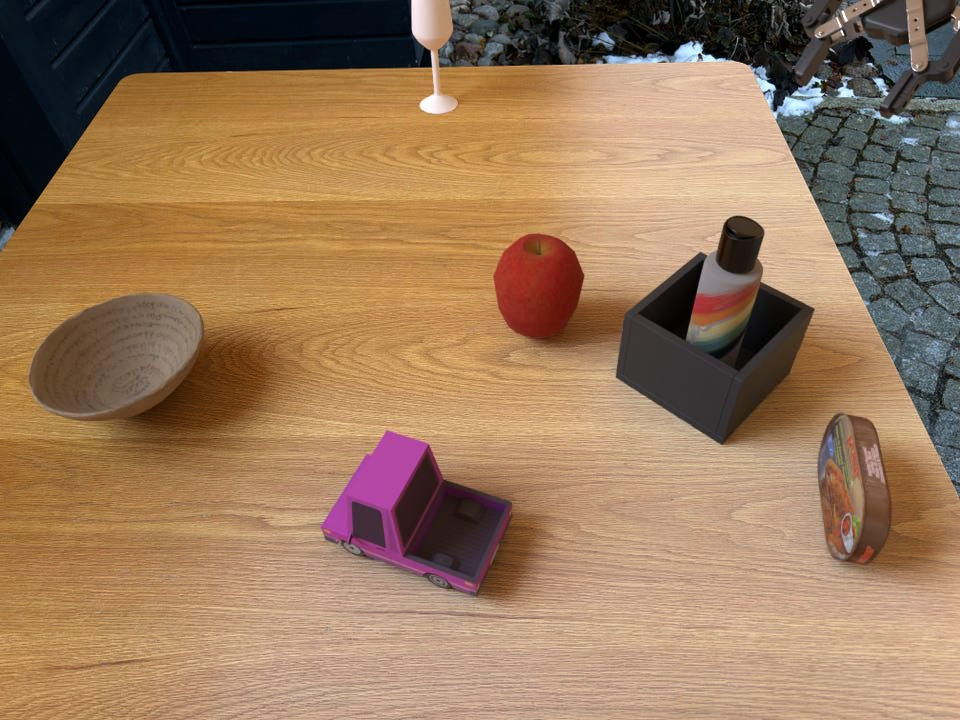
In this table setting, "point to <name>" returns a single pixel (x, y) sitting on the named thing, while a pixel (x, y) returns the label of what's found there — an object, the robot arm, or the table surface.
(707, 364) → the bin
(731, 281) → the lotion bottle
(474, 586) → the toy truck
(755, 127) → the table surface
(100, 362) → the bowl
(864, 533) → the tin
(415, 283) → the table surface
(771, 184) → the table surface
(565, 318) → the apple
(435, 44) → the champagne flute
